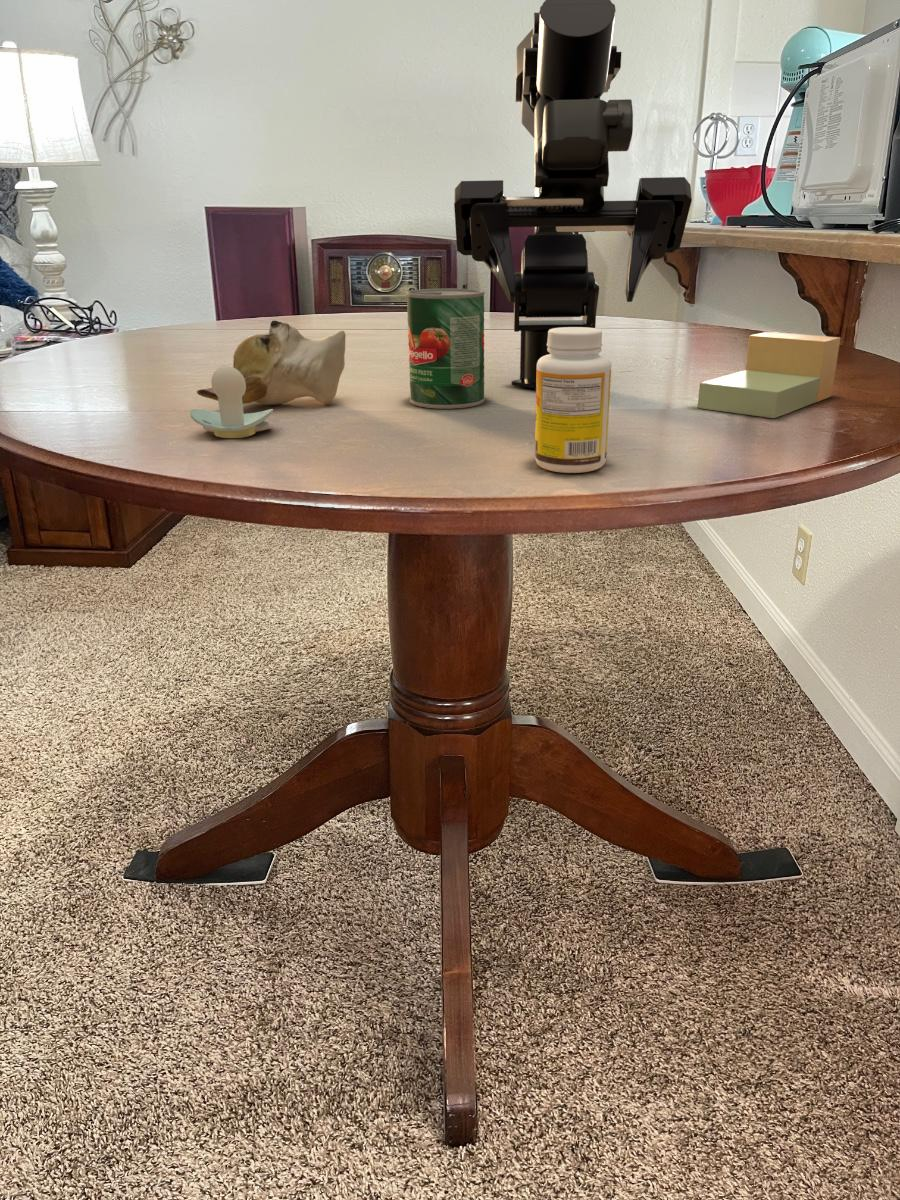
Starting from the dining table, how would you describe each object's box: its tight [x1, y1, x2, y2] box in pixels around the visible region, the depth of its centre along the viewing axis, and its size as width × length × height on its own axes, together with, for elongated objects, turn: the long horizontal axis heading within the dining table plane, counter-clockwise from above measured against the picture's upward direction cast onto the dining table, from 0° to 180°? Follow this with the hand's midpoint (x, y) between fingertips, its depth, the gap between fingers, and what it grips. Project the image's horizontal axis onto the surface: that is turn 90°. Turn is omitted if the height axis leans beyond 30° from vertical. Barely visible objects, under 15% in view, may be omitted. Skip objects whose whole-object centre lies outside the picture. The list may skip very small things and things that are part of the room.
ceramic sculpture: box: [196, 320, 347, 406], centre depth 92 cm, size 11×9×15 cm
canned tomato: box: [405, 287, 486, 410], centre depth 91 cm, size 8×8×11 cm
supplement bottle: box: [534, 327, 612, 474], centre depth 67 cm, size 6×6×10 cm
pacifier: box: [189, 365, 274, 439], centre depth 80 cm, size 7×6×6 cm
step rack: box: [697, 331, 841, 419], centre depth 90 cm, size 8×14×6 cm, turn 138°
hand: (571, 298), depth 70 cm, fingers open, 9 cm apart
